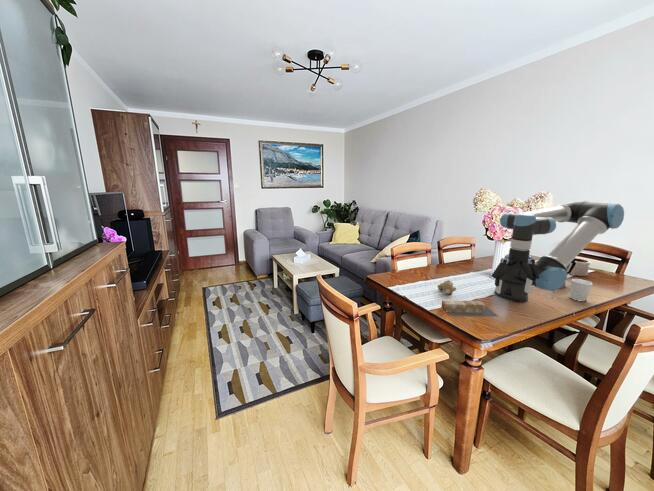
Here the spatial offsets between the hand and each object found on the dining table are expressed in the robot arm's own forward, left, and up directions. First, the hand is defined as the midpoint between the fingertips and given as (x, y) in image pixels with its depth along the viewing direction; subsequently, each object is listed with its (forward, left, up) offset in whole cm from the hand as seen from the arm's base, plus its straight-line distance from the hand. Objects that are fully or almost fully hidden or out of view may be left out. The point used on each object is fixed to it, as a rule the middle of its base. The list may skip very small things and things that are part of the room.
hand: (512, 292), depth 129 cm
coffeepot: (-50, -35, -10) cm, 62 cm away
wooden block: (+13, 0, -7) cm, 15 cm away
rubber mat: (+19, 0, -10) cm, 21 cm away
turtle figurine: (+21, -20, -10) cm, 31 cm away
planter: (-78, -55, -10) cm, 96 cm away
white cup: (-45, -15, -10) cm, 48 cm away
